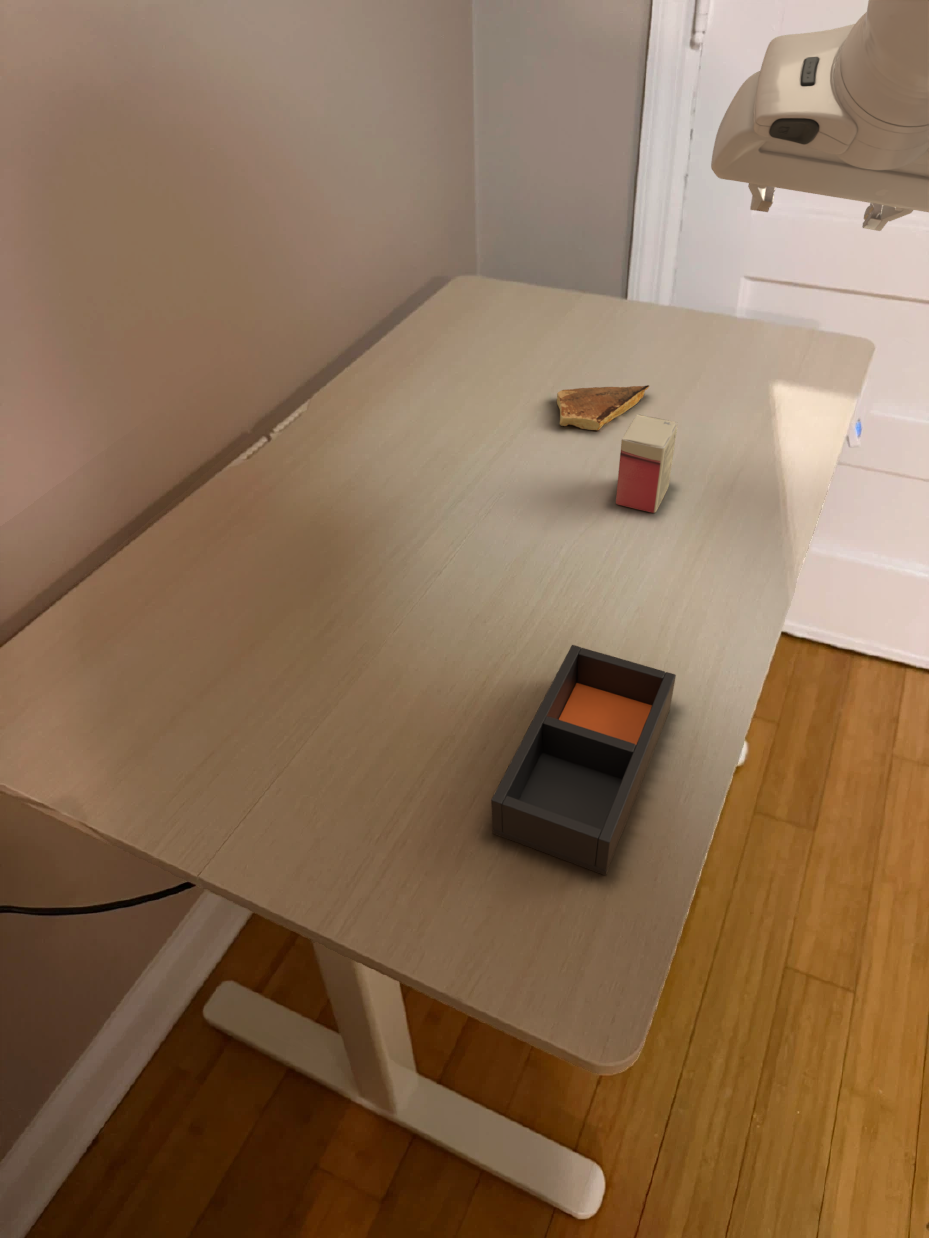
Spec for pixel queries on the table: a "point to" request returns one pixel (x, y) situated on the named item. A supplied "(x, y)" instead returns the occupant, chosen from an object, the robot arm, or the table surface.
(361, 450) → the table surface
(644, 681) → the holder
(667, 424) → the small box
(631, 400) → the shard
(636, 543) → the table surface
